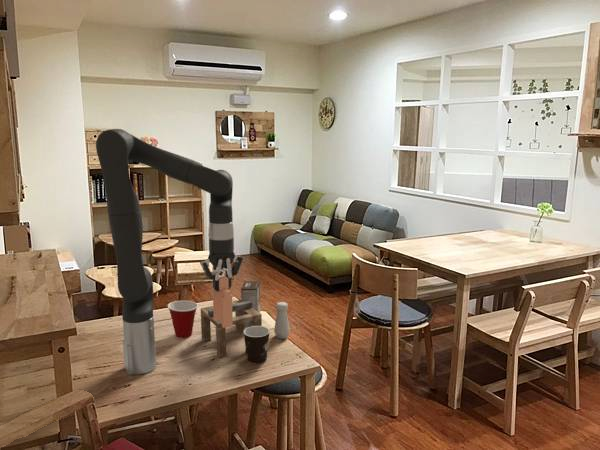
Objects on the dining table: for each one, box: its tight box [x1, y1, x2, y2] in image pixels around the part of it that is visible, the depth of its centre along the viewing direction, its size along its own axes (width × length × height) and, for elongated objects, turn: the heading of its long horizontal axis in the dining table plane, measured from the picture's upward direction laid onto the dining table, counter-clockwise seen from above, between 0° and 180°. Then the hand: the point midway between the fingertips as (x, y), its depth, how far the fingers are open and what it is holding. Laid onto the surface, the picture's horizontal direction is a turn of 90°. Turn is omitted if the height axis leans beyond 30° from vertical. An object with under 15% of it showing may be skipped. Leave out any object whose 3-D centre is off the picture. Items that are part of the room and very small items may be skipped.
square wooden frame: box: [200, 299, 263, 358], centre depth 176 cm, size 16×16×14 cm
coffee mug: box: [243, 325, 271, 365], centre depth 163 cm, size 12×9×10 cm
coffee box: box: [240, 280, 261, 329], centre depth 192 cm, size 9×6×16 cm
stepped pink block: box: [212, 275, 234, 329], centre depth 156 cm, size 3×8×15 cm, turn 32°
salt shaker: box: [273, 301, 291, 340], centre depth 181 cm, size 6×6×13 cm
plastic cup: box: [167, 300, 199, 339], centre depth 182 cm, size 11×11×12 cm
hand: (222, 289), depth 155 cm, fingers closed on stepped pink block, 3 cm apart
